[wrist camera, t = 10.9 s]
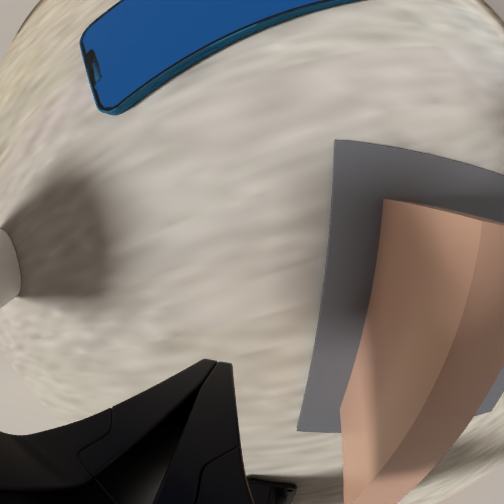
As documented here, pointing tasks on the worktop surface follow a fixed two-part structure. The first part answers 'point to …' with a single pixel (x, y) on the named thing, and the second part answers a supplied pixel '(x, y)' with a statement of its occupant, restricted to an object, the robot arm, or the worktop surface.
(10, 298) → the dixie cup
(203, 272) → the worktop surface
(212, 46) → the smartphone
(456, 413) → the block
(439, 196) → the mat
